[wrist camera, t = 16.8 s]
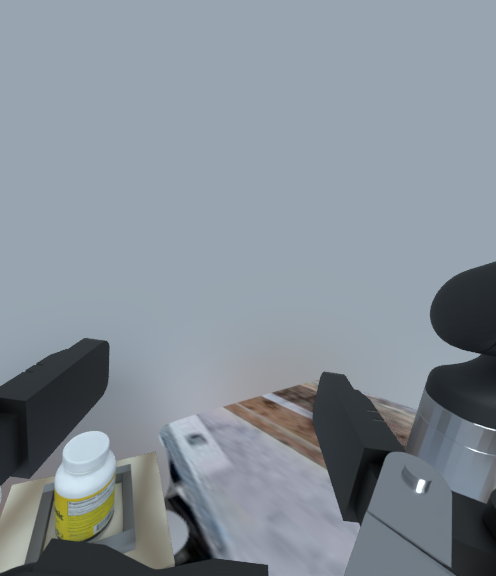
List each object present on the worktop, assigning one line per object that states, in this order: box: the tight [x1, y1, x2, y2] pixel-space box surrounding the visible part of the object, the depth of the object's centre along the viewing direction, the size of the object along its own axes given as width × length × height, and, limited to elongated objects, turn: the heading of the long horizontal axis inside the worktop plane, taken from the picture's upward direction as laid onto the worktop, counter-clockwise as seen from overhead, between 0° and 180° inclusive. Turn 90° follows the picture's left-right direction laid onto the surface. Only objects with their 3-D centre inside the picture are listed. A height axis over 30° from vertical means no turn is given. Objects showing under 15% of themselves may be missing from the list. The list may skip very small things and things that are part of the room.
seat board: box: [0, 452, 175, 573], centre depth 29 cm, size 16×14×3 cm
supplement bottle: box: [54, 431, 116, 543], centre depth 28 cm, size 5×5×10 cm
